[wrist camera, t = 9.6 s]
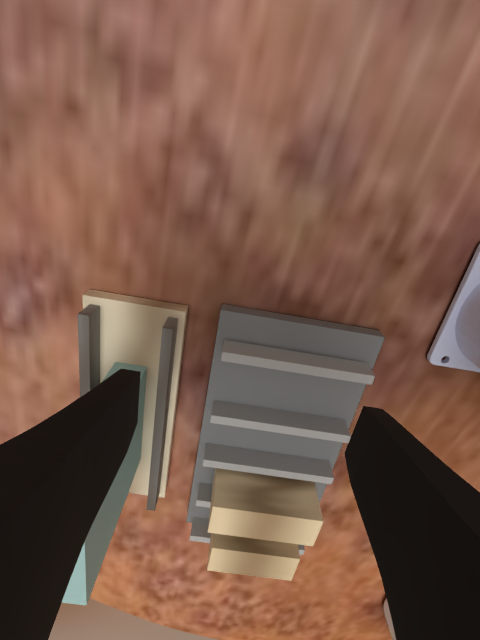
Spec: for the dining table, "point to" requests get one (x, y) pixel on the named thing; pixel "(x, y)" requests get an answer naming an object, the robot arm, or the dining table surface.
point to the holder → (144, 350)
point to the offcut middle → (264, 507)
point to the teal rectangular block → (107, 507)
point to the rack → (279, 400)
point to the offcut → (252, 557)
